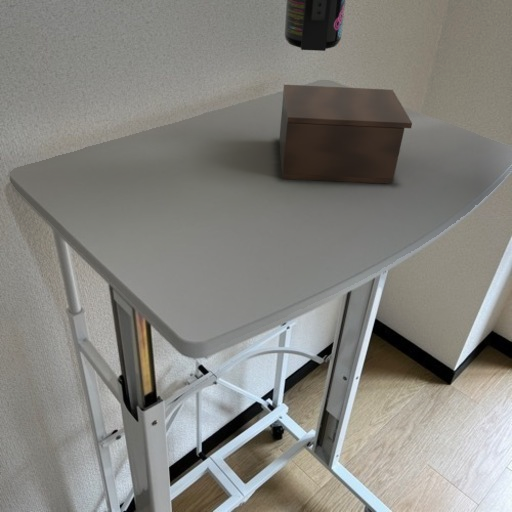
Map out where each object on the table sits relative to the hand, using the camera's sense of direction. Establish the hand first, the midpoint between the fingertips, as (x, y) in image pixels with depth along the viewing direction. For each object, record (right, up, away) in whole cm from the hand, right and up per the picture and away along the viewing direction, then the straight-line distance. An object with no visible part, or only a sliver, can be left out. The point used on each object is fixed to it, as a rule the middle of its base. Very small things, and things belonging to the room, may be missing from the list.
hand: (310, 40), depth 65 cm
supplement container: (0, 0, 0) cm, 1 cm away
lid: (+7, -3, +18) cm, 19 cm away
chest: (+6, -10, +23) cm, 26 cm away
